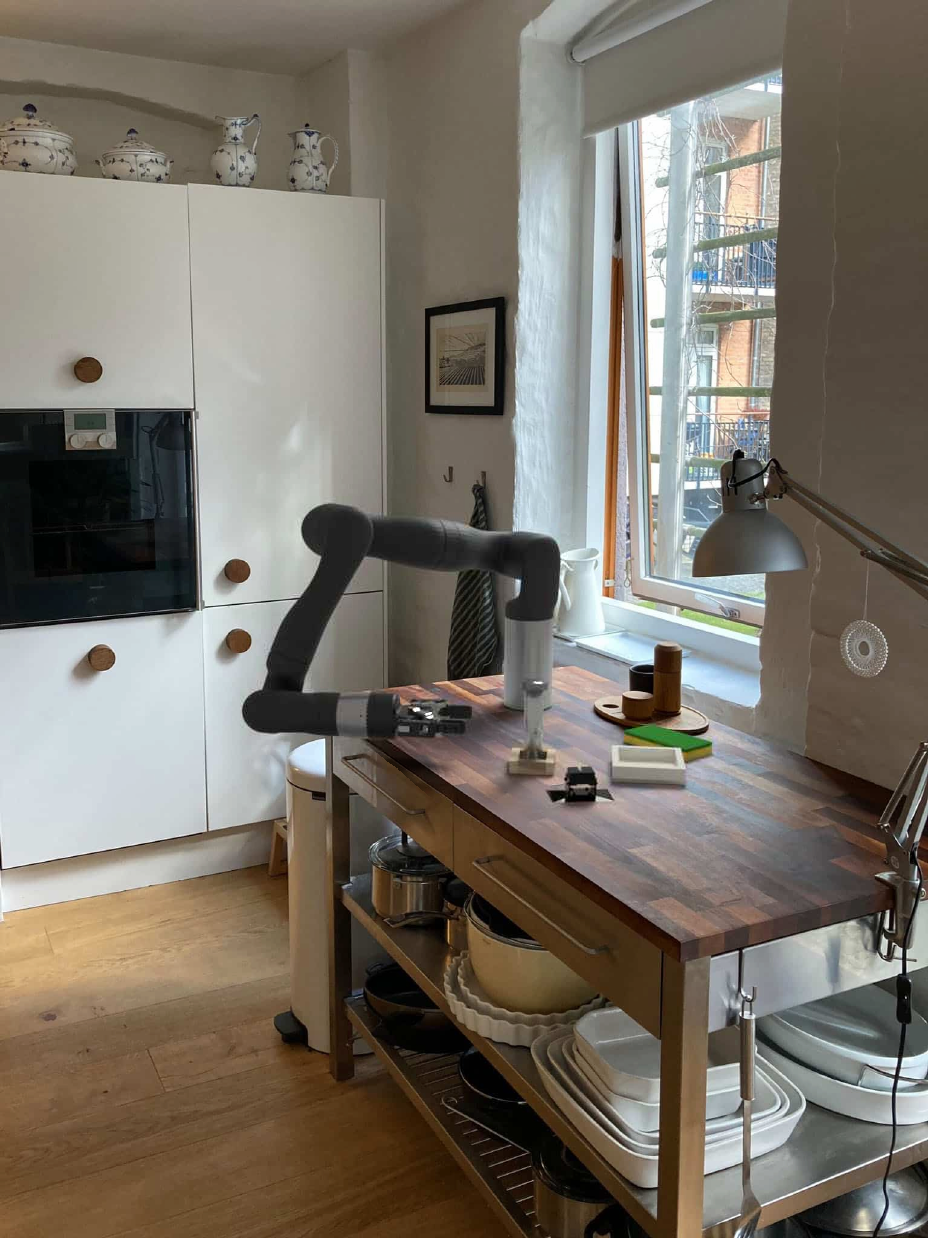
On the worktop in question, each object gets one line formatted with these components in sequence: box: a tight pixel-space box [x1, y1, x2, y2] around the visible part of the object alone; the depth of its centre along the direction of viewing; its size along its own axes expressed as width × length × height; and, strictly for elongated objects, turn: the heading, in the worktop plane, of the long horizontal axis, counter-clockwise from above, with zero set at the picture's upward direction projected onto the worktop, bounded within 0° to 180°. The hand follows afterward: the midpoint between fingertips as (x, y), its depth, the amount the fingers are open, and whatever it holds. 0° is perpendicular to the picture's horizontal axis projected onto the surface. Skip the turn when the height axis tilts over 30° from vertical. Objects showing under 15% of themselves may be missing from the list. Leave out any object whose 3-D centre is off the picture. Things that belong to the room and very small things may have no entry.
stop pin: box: [520, 678, 548, 760], centre depth 178 cm, size 4×4×14 cm
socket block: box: [508, 747, 557, 776], centre depth 179 cm, size 7×7×2 cm
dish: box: [610, 744, 687, 786], centre depth 177 cm, size 11×11×2 cm
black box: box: [545, 766, 615, 804], centre depth 166 cm, size 12×7×5 cm, turn 95°
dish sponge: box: [623, 723, 713, 762], centre depth 190 cm, size 7×14×2 cm, turn 39°
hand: (468, 719), depth 179 cm, fingers open, 8 cm apart
